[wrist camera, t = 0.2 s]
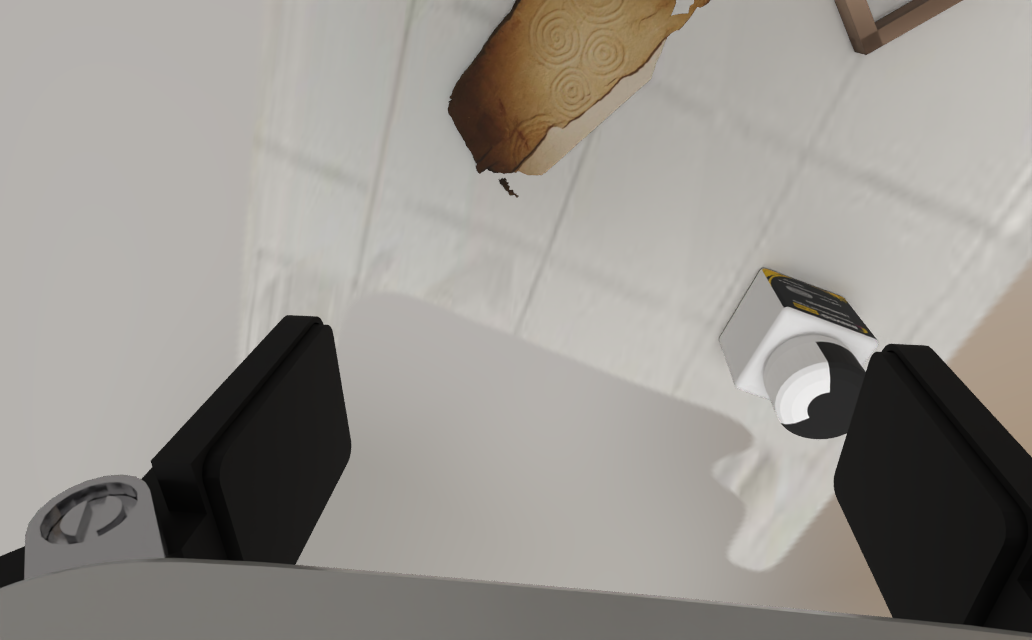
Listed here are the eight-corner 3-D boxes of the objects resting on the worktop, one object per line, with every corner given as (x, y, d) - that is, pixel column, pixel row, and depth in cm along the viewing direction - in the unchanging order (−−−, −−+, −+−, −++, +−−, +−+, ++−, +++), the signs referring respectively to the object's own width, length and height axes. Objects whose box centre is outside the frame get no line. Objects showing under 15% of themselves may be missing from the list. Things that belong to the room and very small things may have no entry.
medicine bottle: (845, 296, 48) (915, 384, 38) (795, 368, 52) (846, 466, 41) (761, 265, 48) (807, 344, 38) (716, 339, 51) (747, 431, 41)
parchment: (510, 203, 48) (509, 206, 47) (417, 103, 45) (414, 106, 44) (802, -53, 39) (806, -53, 38) (709, -200, 36) (712, -204, 35)
